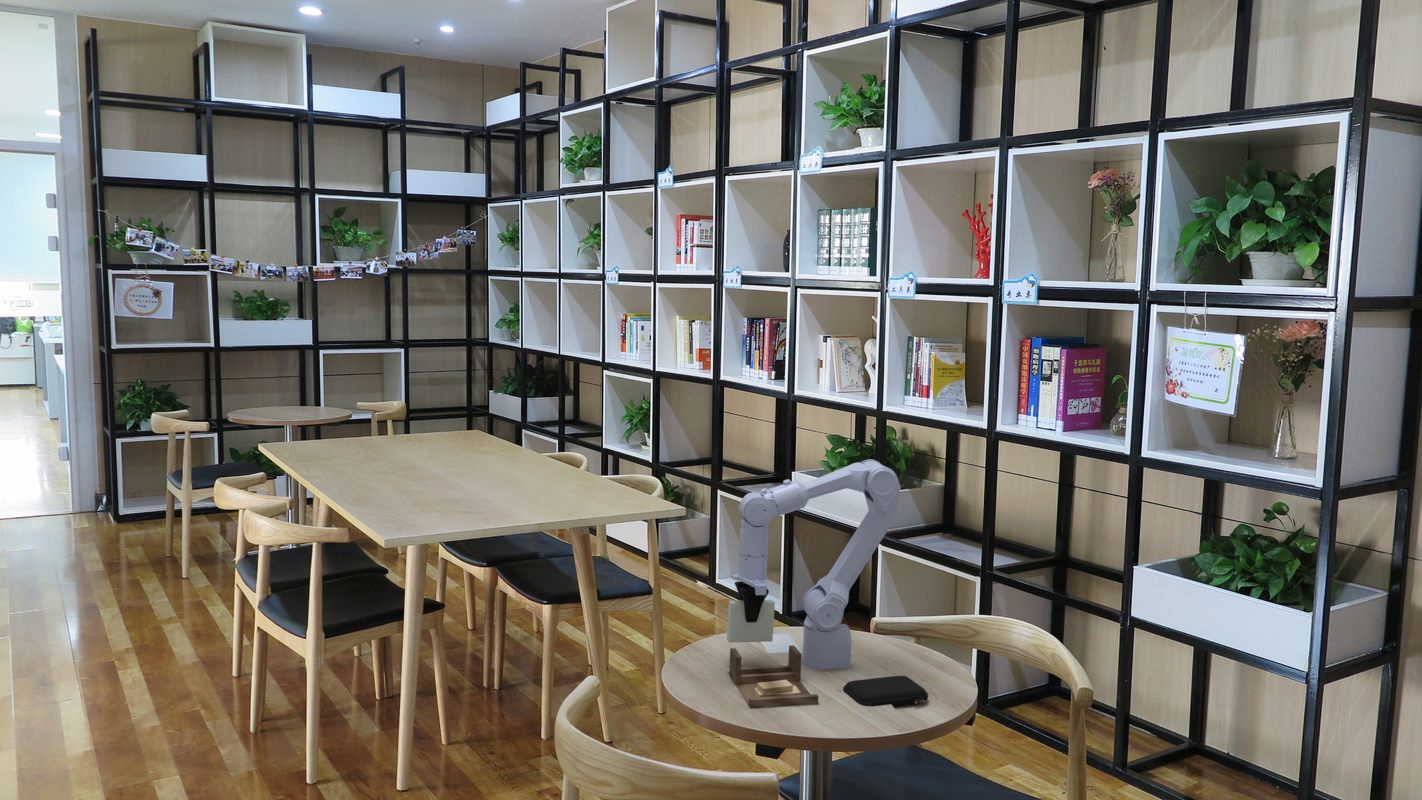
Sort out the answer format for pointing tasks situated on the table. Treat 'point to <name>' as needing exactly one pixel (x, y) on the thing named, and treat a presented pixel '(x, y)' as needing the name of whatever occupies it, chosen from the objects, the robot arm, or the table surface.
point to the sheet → (750, 623)
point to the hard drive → (780, 643)
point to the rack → (753, 675)
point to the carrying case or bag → (886, 691)
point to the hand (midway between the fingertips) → (749, 619)
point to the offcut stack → (776, 689)
